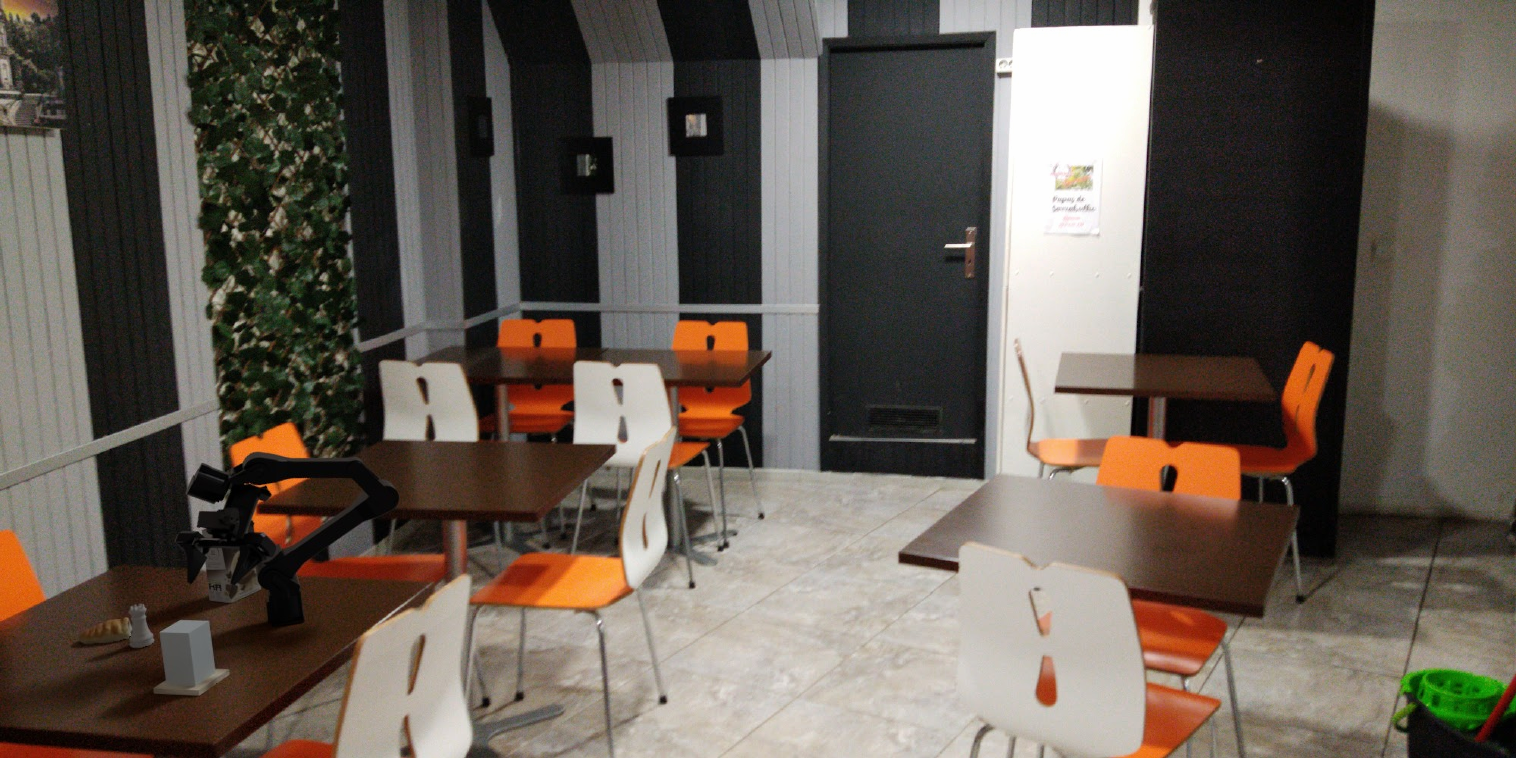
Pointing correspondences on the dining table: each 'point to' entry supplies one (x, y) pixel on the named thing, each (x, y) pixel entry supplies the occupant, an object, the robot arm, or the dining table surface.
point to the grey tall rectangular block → (187, 652)
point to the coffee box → (227, 574)
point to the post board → (192, 690)
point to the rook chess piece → (139, 628)
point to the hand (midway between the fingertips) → (210, 583)
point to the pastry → (107, 632)
